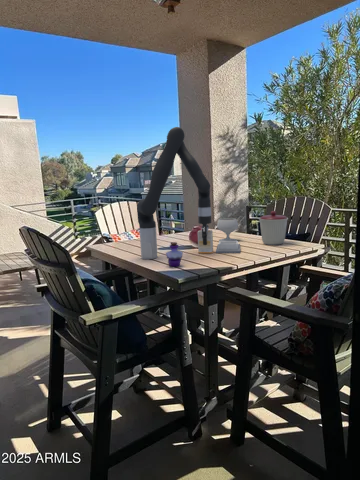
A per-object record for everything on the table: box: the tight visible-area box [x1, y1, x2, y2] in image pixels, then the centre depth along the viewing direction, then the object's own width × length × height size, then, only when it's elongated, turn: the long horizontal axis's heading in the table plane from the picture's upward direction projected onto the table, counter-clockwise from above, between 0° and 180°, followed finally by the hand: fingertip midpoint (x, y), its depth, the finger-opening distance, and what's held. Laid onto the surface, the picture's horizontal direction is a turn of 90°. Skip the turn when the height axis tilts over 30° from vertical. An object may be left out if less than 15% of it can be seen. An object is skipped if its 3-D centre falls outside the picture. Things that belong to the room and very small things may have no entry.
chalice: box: [217, 217, 239, 242], centre depth 239 cm, size 14×14×15 cm
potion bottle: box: [165, 241, 183, 268], centre depth 176 cm, size 9×9×12 cm
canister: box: [258, 210, 289, 246], centre depth 222 cm, size 18×18×21 cm
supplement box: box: [197, 229, 214, 254], centre depth 204 cm, size 8×5×13 cm, turn 74°
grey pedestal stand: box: [215, 240, 241, 254], centre depth 211 cm, size 22×14×4 cm, turn 171°
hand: (205, 243), depth 204 cm, fingers open, 5 cm apart
